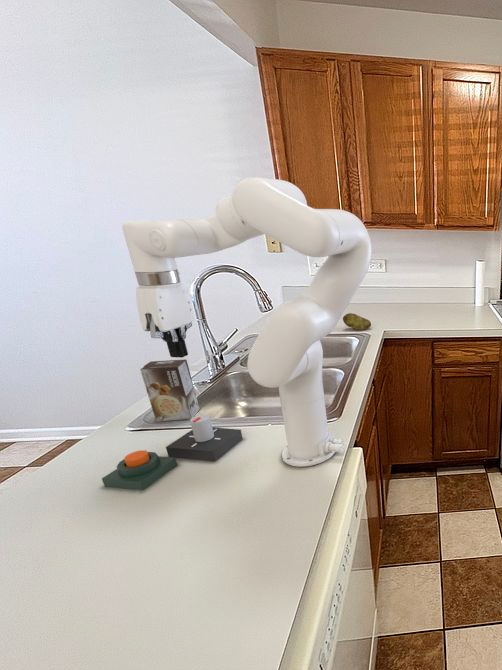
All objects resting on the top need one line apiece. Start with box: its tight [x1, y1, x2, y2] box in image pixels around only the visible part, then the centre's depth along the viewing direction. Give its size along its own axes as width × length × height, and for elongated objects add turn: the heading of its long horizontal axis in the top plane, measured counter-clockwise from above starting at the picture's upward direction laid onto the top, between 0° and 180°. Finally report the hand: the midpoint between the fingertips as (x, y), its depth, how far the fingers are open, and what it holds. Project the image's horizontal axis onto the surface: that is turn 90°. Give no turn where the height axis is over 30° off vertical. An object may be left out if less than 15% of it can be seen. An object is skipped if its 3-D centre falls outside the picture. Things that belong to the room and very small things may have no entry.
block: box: [101, 451, 178, 491], centre depth 88 cm, size 9×9×4 cm
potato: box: [342, 312, 372, 331], centre depth 198 cm, size 8×13×8 cm, turn 81°
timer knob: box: [189, 414, 214, 442], centre depth 97 cm, size 4×4×6 cm
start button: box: [123, 449, 150, 467], centre depth 87 cm, size 4×4×2 cm
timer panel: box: [165, 426, 243, 463], centre depth 99 cm, size 12×10×3 cm
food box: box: [139, 358, 200, 423], centre depth 111 cm, size 9×6×16 cm
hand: (179, 356), depth 94 cm, fingers closed
